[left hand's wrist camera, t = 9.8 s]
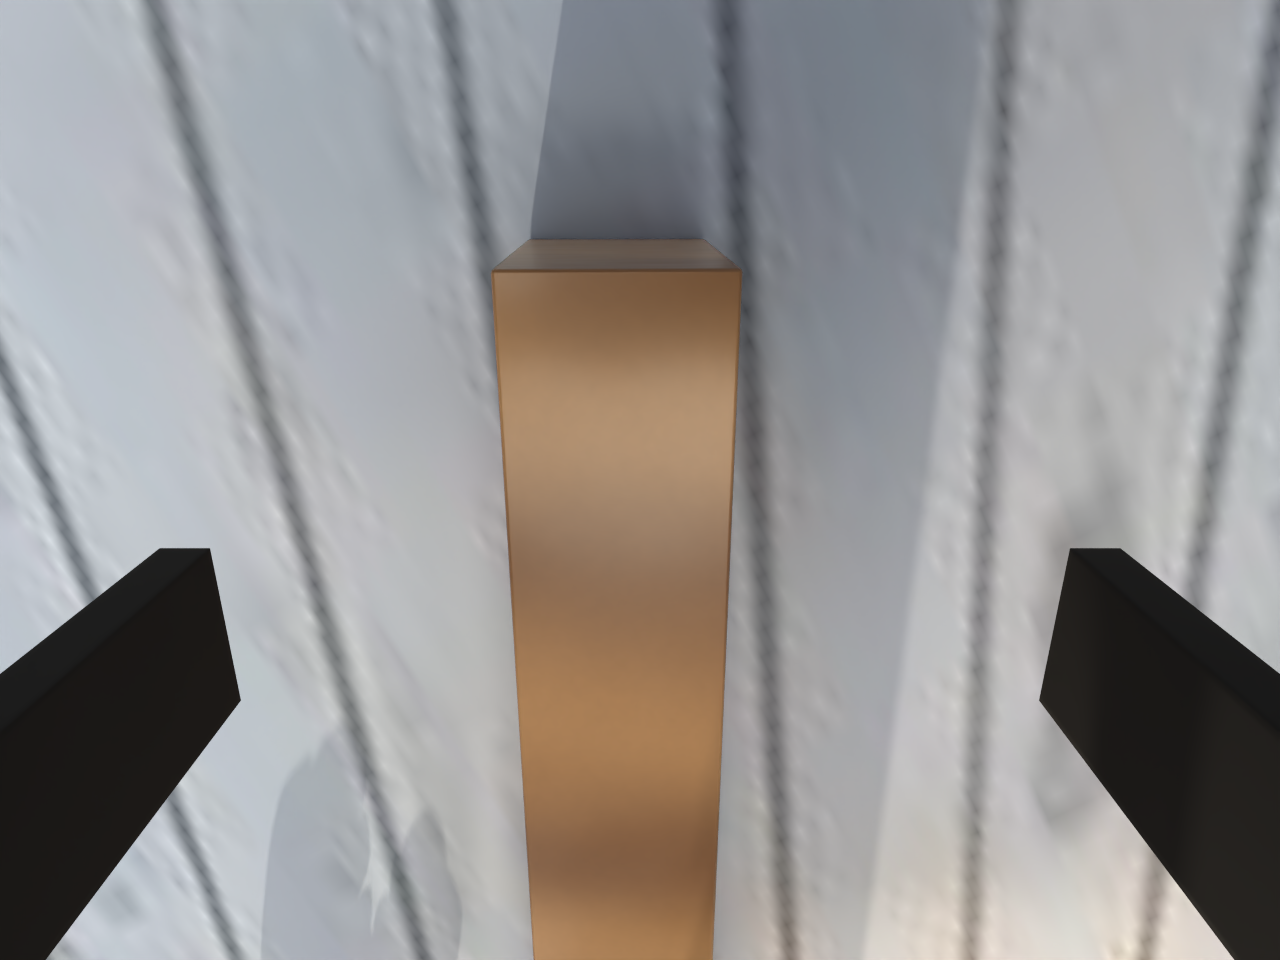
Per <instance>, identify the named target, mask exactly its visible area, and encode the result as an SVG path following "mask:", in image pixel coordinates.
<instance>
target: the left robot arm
mask: <svg viewBox="0 0 1280 960" xmlns="http://www.w3.org/2000/svg"><path fill="white" fill-rule="evenodd" d="M240 701H241V699H240V694H239V689H238V684H237V679H236V674H235V669H234V665H233V660H232V655H231V650H230V645H229V640H228V635H227V630H226V625H225V620H224V615H223V610H222V605H221V601H220V596H219V591H218V586H217V581H216V576H215V571H214V566H213V561H212V556H211V551H210V548H160V549H158V550H157V551H156V552H154V553H153V554H152V555H151V556H149V557H148V558H147V559H146V560H144V561H143V562H142V563H141V564H139V565H138V566H137V567H135V568H134V569H133V570H132V571H130V572H129V573H128V574H127V575H125V576H124V577H123V578H121V579H120V580H119V581H118V582H116V583H115V584H114V585H113V586H111V587H110V588H109V589H108V590H106V591H105V592H104V593H102V594H101V595H100V596H99V597H97V598H96V599H95V600H94V601H92V602H91V603H90V604H88V605H87V606H86V607H85V608H83V609H82V610H81V611H80V612H78V613H77V614H76V615H75V616H73V617H72V618H71V619H69V620H68V621H67V622H66V623H64V624H63V625H62V626H61V627H59V628H58V629H57V630H55V631H54V632H53V633H52V634H50V635H49V636H48V637H47V638H45V639H44V640H43V641H41V642H40V643H39V644H38V645H36V646H35V647H34V648H33V649H31V650H30V651H29V652H28V653H26V654H25V655H24V656H22V657H21V658H20V659H19V660H17V661H16V662H15V663H14V664H12V665H11V666H10V667H8V668H7V669H6V670H5V671H3V672H2V673H1V674H0V960H46V959H47V957H48V956H49V955H50V953H51V952H52V951H53V949H54V948H55V947H56V945H57V944H58V943H59V941H60V940H61V939H62V937H63V936H64V935H65V933H66V932H67V931H68V929H69V928H70V927H71V925H72V924H73V923H74V921H75V920H76V919H77V917H78V916H79V915H80V913H81V912H82V911H83V909H84V908H85V907H86V905H87V904H88V903H89V901H90V900H91V899H92V897H93V896H94V895H95V893H96V892H97V891H98V889H99V888H100V887H101V885H102V884H103V883H104V881H105V880H106V879H107V878H108V876H109V875H110V874H111V872H112V871H113V870H114V868H115V867H116V866H117V864H118V863H119V862H120V860H121V859H122V858H123V856H124V855H125V854H126V852H127V851H128V850H129V848H130V847H131V846H132V844H133V843H134V842H135V840H136V839H137V838H138V836H139V835H140V834H141V832H142V831H143V830H144V828H145V827H146V826H147V824H148V823H149V822H150V820H151V819H152V818H153V816H154V815H155V814H156V812H157V811H158V810H159V808H160V807H161V806H162V804H163V803H164V802H165V800H166V799H167V798H168V796H169V795H170V794H171V792H172V791H173V790H174V789H175V787H176V786H177V785H178V783H179V782H180V781H181V779H182V778H183V777H184V775H185V774H186V773H187V771H188V770H189V769H190V767H191V766H192V765H193V763H194V762H195V761H196V759H197V758H198V757H199V755H200V754H201V753H202V751H203V750H204V749H205V747H206V746H207V745H208V743H209V742H210V741H211V739H212V738H213V737H214V735H215V734H216V733H217V731H218V730H219V729H220V727H221V726H222V725H223V723H224V722H225V721H226V719H227V718H228V717H229V715H230V714H231V713H232V711H233V710H234V709H235V707H236V706H237V705H238V703H239V702H240ZM1039 701H1040V702H1041V703H1042V705H1043V706H1044V707H1045V709H1046V710H1047V711H1048V713H1049V714H1050V715H1051V717H1052V718H1053V719H1054V721H1055V722H1056V723H1057V725H1058V726H1059V727H1060V729H1061V730H1062V731H1063V733H1064V734H1065V735H1066V737H1067V738H1068V739H1069V741H1070V742H1071V743H1072V745H1073V746H1074V747H1075V749H1076V750H1077V751H1078V753H1079V754H1080V755H1081V757H1082V758H1083V759H1084V761H1085V762H1086V763H1087V765H1088V766H1089V767H1090V769H1091V770H1092V771H1093V773H1094V774H1095V775H1096V777H1097V778H1098V779H1099V781H1100V782H1101V783H1102V785H1103V786H1104V787H1105V789H1106V790H1107V791H1108V792H1109V794H1110V795H1111V796H1112V798H1113V799H1114V800H1115V802H1116V803H1117V804H1118V806H1119V807H1120V808H1121V810H1122V811H1123V812H1124V814H1125V815H1126V816H1127V818H1128V819H1129V820H1130V822H1131V823H1132V824H1133V826H1134V827H1135V828H1136V830H1137V831H1138V832H1139V834H1140V835H1141V836H1142V838H1143V839H1144V840H1145V842H1146V843H1147V844H1148V846H1149V847H1150V848H1151V850H1152V851H1153V852H1154V854H1155V855H1156V856H1157V858H1158V859H1159V860H1160V862H1161V863H1162V864H1163V866H1164V867H1165V868H1166V870H1167V871H1168V872H1169V874H1170V875H1171V876H1172V878H1173V879H1174V880H1175V881H1176V883H1177V884H1178V885H1179V887H1180V888H1181V889H1182V891H1183V892H1184V893H1185V895H1186V896H1187V897H1188V899H1189V900H1190V901H1191V903H1192V904H1193V905H1194V907H1195V908H1196V909H1197V911H1198V912H1199V913H1200V915H1201V916H1202V917H1203V919H1204V920H1205V921H1206V923H1207V924H1208V925H1209V927H1210V928H1211V929H1212V931H1213V932H1214V933H1215V935H1216V936H1217V937H1218V939H1219V940H1220V941H1221V943H1222V944H1223V945H1224V947H1225V948H1226V949H1227V951H1228V952H1229V953H1230V955H1231V956H1232V957H1233V959H1234V960H1280V674H1279V673H1278V672H1277V671H1275V670H1274V669H1273V668H1272V667H1270V666H1269V665H1268V664H1266V663H1265V662H1264V661H1263V660H1261V659H1260V658H1259V657H1258V656H1256V655H1255V654H1254V653H1252V652H1251V651H1250V650H1249V649H1247V648H1246V647H1245V646H1244V645H1242V644H1241V643H1240V642H1239V641H1237V640H1236V639H1235V638H1233V637H1232V636H1231V635H1230V634H1228V633H1227V632H1226V631H1225V630H1223V629H1222V628H1221V627H1219V626H1218V625H1217V624H1216V623H1214V622H1213V621H1212V620H1211V619H1209V618H1208V617H1207V616H1205V615H1204V614H1203V613H1202V612H1200V611H1199V610H1198V609H1197V608H1195V607H1194V606H1193V605H1192V604H1190V603H1189V602H1188V601H1186V600H1185V599H1184V598H1183V597H1181V596H1180V595H1179V594H1178V593H1176V592H1175V591H1174V590H1172V589H1171V588H1170V587H1169V586H1167V585H1166V584H1165V583H1164V582H1162V581H1161V580H1160V579H1159V578H1157V577H1156V576H1155V575H1153V574H1152V573H1151V572H1150V571H1148V570H1147V569H1146V568H1145V567H1143V566H1142V565H1141V564H1139V563H1138V562H1137V561H1136V560H1134V559H1133V558H1132V557H1131V556H1129V555H1128V554H1127V553H1126V552H1124V551H1123V550H1122V549H1120V548H1070V551H1069V556H1068V561H1067V566H1066V571H1065V576H1064V581H1063V586H1062V591H1061V596H1060V601H1059V605H1058V610H1057V615H1056V620H1055V625H1054V630H1053V635H1052V640H1051V645H1050V650H1049V655H1048V660H1047V665H1046V669H1045V674H1044V679H1043V684H1042V689H1041V694H1040V699H1039Z"/></svg>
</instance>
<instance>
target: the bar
mask: <svg viewBox="0 0 1280 960" xmlns="http://www.w3.org/2000/svg"><path fill="white" fill-rule="evenodd" d="M491 282H492V298H493V314H494V330H495V346H496V363H497V379H498V395H499V411H500V427H501V443H502V459H503V475H504V491H505V507H506V523H507V539H508V555H509V571H510V587H511V603H512V619H513V635H514V651H515V667H516V683H517V699H518V715H519V731H520V747H521V763H522V779H523V795H524V811H525V827H526V843H527V860H528V876H529V892H530V908H531V924H532V940H533V956H534V960H713V940H714V917H715V894H716V871H717V847H718V824H719V801H720V778H721V755H722V732H723V709H724V686H725V663H726V640H727V617H728V594H729V571H730V548H731V525H732V502H733V478H734V455H735V432H736V409H737V386H738V363H739V340H740V317H741V294H742V270H741V269H740V268H739V267H738V266H737V265H735V264H734V263H733V262H732V261H730V260H729V259H728V258H727V257H725V256H724V255H723V254H722V253H721V252H719V251H718V250H717V249H716V248H714V247H713V246H712V245H711V244H709V243H708V242H707V241H706V240H704V239H530V240H528V241H527V242H525V243H524V244H523V245H522V246H521V247H519V248H518V249H517V250H516V251H514V252H513V253H512V254H511V255H510V256H508V257H507V258H506V259H505V260H504V261H502V262H501V263H500V264H499V265H497V266H496V267H495V268H494V269H493V270H492V271H491Z"/></svg>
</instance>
